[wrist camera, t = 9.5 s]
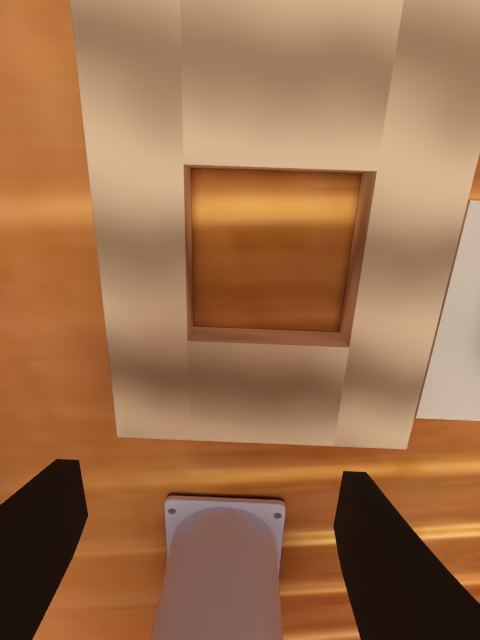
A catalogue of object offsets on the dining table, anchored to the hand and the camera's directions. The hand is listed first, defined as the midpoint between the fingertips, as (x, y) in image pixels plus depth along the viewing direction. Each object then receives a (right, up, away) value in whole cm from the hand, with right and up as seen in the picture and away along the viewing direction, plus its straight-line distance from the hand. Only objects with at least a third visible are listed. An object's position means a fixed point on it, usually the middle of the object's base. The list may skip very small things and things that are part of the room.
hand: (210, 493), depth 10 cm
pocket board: (+2, +8, +8) cm, 12 cm away
